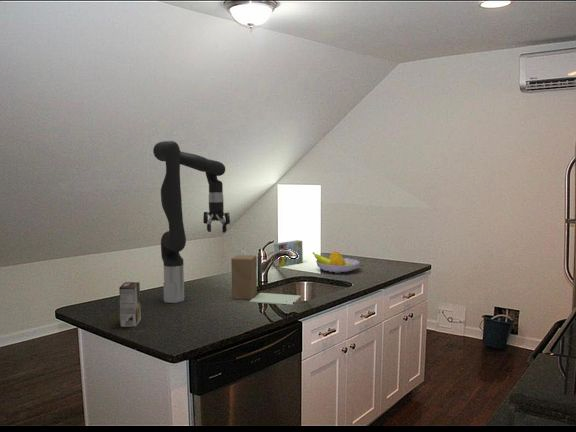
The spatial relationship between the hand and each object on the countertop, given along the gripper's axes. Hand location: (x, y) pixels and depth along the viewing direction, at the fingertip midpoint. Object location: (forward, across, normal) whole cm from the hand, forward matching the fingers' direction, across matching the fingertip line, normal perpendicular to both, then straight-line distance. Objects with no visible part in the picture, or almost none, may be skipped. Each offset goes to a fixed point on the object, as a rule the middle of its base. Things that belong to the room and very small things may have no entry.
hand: (216, 232), depth 254 cm
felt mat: (+30, +36, -10) cm, 48 cm away
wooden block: (+30, +20, -11) cm, 38 cm away
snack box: (+32, +12, +74) cm, 82 cm away
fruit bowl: (+32, +46, +65) cm, 86 cm away
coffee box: (+29, -5, -64) cm, 71 cm away
